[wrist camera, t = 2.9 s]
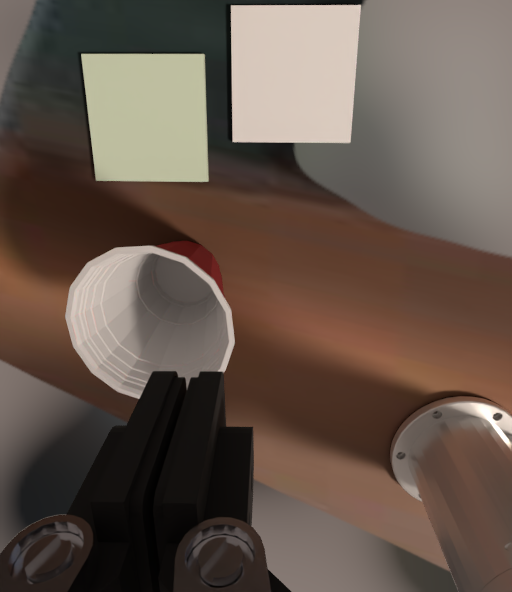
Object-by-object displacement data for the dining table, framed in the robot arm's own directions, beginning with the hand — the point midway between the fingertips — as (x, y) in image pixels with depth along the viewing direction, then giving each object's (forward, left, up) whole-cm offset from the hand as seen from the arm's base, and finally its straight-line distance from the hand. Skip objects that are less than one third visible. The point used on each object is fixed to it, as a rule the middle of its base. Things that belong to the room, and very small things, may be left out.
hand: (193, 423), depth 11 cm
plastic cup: (+6, +5, -28) cm, 29 cm away
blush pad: (-3, -10, -27) cm, 29 cm away
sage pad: (+8, -7, -27) cm, 29 cm away
